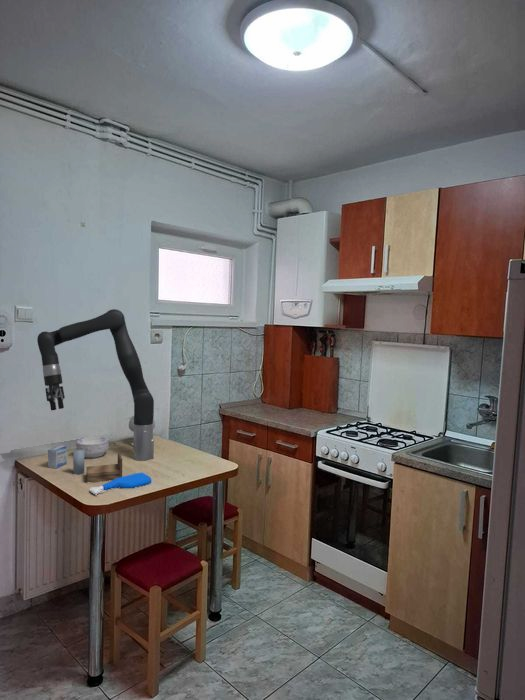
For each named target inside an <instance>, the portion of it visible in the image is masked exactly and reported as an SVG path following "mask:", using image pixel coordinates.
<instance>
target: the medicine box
mask: <svg viewBox="0 0 525 700" xmlns="http://www.w3.org/2000/svg"><path fill="white" fill-rule="evenodd" d="M67 452H68V451H67V445H62V444H59V445H56V446H54V447H51V448H49V449H47V467H48V468H50V469H58V468H60V467H62V466H64V465H66V464H67V461H68V459H67Z"/></svg>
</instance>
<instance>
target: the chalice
mask: <svg viewBox="0 0 525 700" xmlns="http://www.w3.org/2000/svg"><path fill="white" fill-rule="evenodd" d="M155 422H156V421H155V418H154V417H153V430H154V429H155V427H156V423H155ZM128 429H129V430H130V431H131V432H132V433H134V415H133V416H131V417H130V418H129V422H128ZM130 446H132V447H134V441H132V442H130Z"/></svg>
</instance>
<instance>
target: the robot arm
mask: <svg viewBox="0 0 525 700" xmlns="http://www.w3.org/2000/svg"><path fill="white" fill-rule="evenodd" d="M125 319H126V318H125V315H124V313H123V312H122V311H121V310H119V309H116V308H114V309H109V310H108V311H106V312H105V313H102V314H100V315H98V316H97V317H92V318H90V319H87V320H83V321H79V322H74V323H71V324H68V325H64V326H62V327H60V328H59V329H56V330H54V331H50V332H49V331H41V332H40V333H39V334H38V335H37V340H36V341H37V346H38V349H39V353H40V356H41V364H42V365H41V366H42V373H43V381H44V385H45V397H46V401H47V402H49V407H50V411H56V410H57V407H58V410H62V409H64V407H65V406H64V399H65V398H66V397H65V391H64V386H63V385H62V386H60V385H61V384H63V376H62V370H61V366H60V361H59V355H58V353H57V351H56V346H59V345H61V344H63V343H65V342H70V341H73V340H77V339H79V338H82V337H85V336H87V335H90V334H93V333H96V332H100V331H104V330H106V331H107V330H109V331H110V333H111V335H112V338H113V341H114V345H115V347H114V348H115V352H116V355H117V359H118V360H117V361H118V362H119V365H120V367H121V370H122V372H123V374H124V376H125V379H126V380H127V382H128V384H129V387H130V390H131V391H130V392H131V393H132V395H131V396H132V398H133V406H134V407H133V413H134V414H133V416H134V432H133V442H134V446H133V459H134V460H136V461H148V460H152V459H153V460H154V457H155V456H154V452H155V451H154V449H155V445H154V442H155V440H154V429H153V418H154V412H155V410H154V409H155V408H154V406H155V400H154V397H153V395H152V394H151V391H150V390H149V388H148V386H147V383H146V382H145V378H144V373H143V368H142V365H141V364H142V363H141V361H140V357H139V355H138V353H137V350H136V348H135V346H134V343H133V341H132V339H131V336H130V335H129V331H128V329H127V328H128V327H127V324H126V320H125ZM56 400H57V405H56Z"/></svg>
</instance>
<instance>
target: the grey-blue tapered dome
mask: <svg viewBox="0 0 525 700" xmlns="http://www.w3.org/2000/svg"><path fill="white" fill-rule="evenodd" d="M72 452H73V453H72V454H73V455H72V459H73V461H72V465H73V471H72V472H73V475H75V474H79V475H83V474H85V457H84V450H83V449H78V450H77V449H75V450H73V451H72Z"/></svg>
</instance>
